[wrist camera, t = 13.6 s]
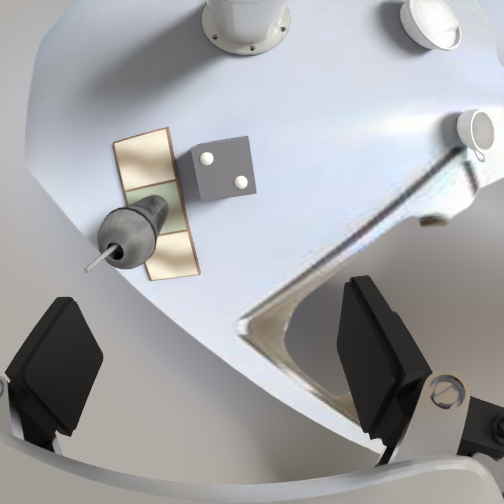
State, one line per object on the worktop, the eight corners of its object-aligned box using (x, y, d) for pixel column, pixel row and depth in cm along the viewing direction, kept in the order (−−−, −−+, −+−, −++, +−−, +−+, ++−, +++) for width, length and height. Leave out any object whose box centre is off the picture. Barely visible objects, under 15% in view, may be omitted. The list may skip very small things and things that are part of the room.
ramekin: (436, 65, 32) (455, 62, 27) (386, 27, 29) (401, 19, 25) (449, 26, 27) (466, 21, 23) (402, -11, 25) (416, -20, 20)
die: (199, 144, 38) (190, 148, 32) (247, 135, 38) (248, 137, 31) (207, 189, 41) (201, 202, 35) (254, 182, 41) (256, 193, 34)
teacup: (446, 112, 35) (465, 114, 30) (471, 104, 34) (490, 106, 29) (459, 164, 39) (477, 170, 34) (482, 153, 38) (500, 158, 33)
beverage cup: (176, 233, 43) (134, 311, 25) (133, 228, 42) (72, 298, 24) (179, 187, 40) (129, 240, 22) (133, 184, 39) (60, 232, 21)
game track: (115, 142, 37) (112, 142, 36) (168, 127, 37) (167, 127, 36) (152, 278, 47) (150, 281, 46) (200, 272, 47) (200, 275, 46)
